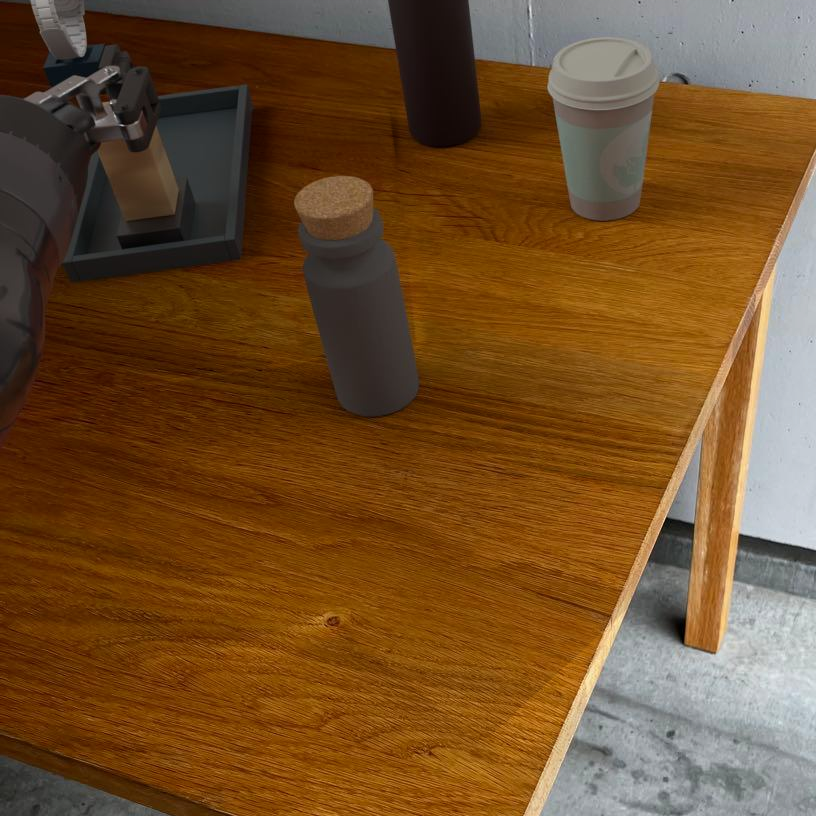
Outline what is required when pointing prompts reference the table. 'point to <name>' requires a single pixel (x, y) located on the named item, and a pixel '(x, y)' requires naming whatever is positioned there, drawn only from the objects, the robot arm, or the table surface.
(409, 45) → the vinegar
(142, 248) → the tray
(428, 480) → the table surface
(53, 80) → the watch
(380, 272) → the bottle
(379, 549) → the table surface
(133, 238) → the stamp
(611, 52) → the coffee cup
